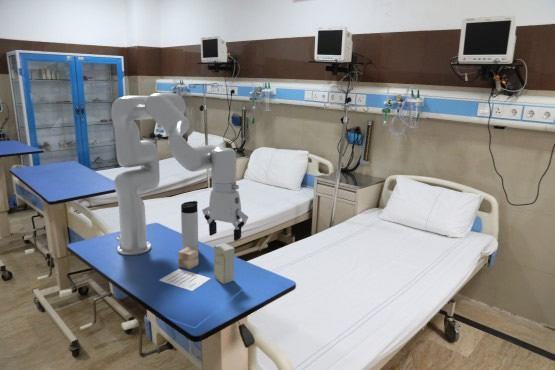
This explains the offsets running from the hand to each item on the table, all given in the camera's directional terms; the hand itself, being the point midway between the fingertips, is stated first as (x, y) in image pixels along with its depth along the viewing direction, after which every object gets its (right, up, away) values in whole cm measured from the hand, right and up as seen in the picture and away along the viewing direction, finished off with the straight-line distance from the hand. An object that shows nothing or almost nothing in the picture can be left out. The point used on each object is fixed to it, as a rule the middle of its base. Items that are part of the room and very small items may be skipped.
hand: (225, 237), depth 131 cm
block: (-15, -12, +13) cm, 23 cm away
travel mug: (-17, -9, +26) cm, 33 cm away
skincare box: (-1, -15, +4) cm, 16 cm away
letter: (-14, -15, +3) cm, 20 cm away
